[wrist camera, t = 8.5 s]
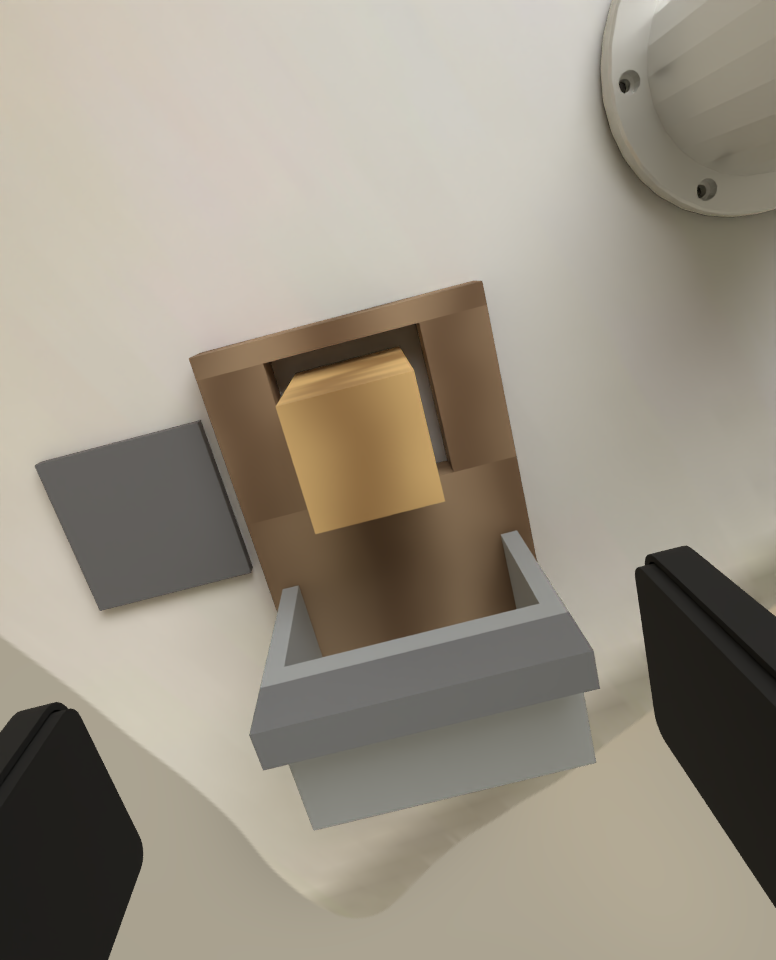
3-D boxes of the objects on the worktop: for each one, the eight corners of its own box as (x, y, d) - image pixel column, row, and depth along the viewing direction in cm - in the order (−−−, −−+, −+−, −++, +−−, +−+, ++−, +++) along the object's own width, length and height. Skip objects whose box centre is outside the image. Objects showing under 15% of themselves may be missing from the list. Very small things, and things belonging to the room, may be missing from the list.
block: (399, 346, 30) (413, 370, 22) (423, 446, 31) (445, 501, 24) (295, 373, 30) (275, 406, 22) (325, 471, 31) (315, 534, 24)
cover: (516, 530, 30) (593, 650, 21) (541, 652, 32) (621, 813, 23) (282, 589, 31) (249, 735, 21) (322, 706, 33) (309, 887, 23)
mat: (200, 420, 30) (197, 423, 30) (252, 567, 33) (250, 572, 32) (40, 462, 30) (34, 465, 30) (104, 605, 33) (100, 610, 32)
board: (473, 280, 29) (482, 281, 27) (534, 585, 34) (545, 604, 32) (199, 353, 29) (188, 358, 27) (299, 644, 34) (296, 665, 32)
